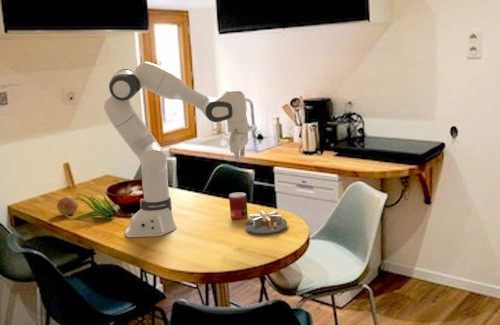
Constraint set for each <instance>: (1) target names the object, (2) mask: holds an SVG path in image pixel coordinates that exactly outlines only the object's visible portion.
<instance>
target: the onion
mask: <svg viewBox="0 0 500 325" xmlns="http://www.w3.org/2000/svg"><path fill="white" fill-rule="evenodd" d="M66 197H67V198H66ZM71 198H74V197H73V196H71V195H69V194H68V195H67V194H66V195H64V196H62V197H61V198H60V199H59V200H58V201H57V204H56V208H57V210H58V212H59V213H64V214H66V215H69V216H71V214H72V215H73V214H75V212H76V211H77V210H78V206H79V205H78V202H77V201H78V200H75V199H76V198H74V199H71ZM64 214H62V215H64ZM64 216H65V215H64Z"/></svg>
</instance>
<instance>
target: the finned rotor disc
mask: <svg viewBox="0 0 500 325" xmlns="http://www.w3.org/2000/svg"><path fill="white" fill-rule="evenodd" d="M278 213H279V211H277V210H275V211H272V212H269V213H265V211H263V210H260V214H249V220H250V223H253V227H258V226H260V225H267V226H268V227H269V228H271V223H276V224H282V215H281V214H278Z"/></svg>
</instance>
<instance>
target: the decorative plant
mask: <svg viewBox="0 0 500 325" xmlns="http://www.w3.org/2000/svg"><path fill="white" fill-rule="evenodd" d="M98 193H99V194H101V195H102V197H103V200H102V199H100V198H99V197H97V198H96V197H94V196H93V194H91V193H90V192H88V194H89V195H90V196H88V195H87V194H85V193H76V192H75V195H78V196H79V195H80V196H84V197H85V198H86V199H88V200H89V201H90V202H88V201H86V200H84V199H79V198H74V197H73V198H71V199H75V200H76V201H79V202H80V201H82V202H84V203H85V204H86V206H87V205H88V207H90V209H91V210H92V211H88V212H87V211H86V210H85V211H84V212H86V213H85V214H82V215H78V216H75V217H72V216H71V215H69V216H68V215H66V214H64V213H60V212H59V213H56V214H54V215H53V216H55V215H57V214H58V215H60V214H61V215H63V214H64V216H65V217H67V218H68V219H71V218H79V219H78V220H83V219H82V218H84V219H87V218H90V217H101V218H102V217H103V218H106V219H109V218H111V217H115V216H116V215H117V214H116V213H117V210H116V209H115V208H114V207H113V206H112V205H111V202H110V201H108V199H107V198H106V196H105V194H103V193H102V192H99V191H98ZM66 198H67V197H66Z"/></svg>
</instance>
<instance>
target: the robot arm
mask: <svg viewBox="0 0 500 325" xmlns="http://www.w3.org/2000/svg"><path fill="white" fill-rule="evenodd" d="M141 89H145V90H148V91H150V92H151V93H153V94H155V95H156V96H157V95H158V96H159V97H161V98H164V99H168V100H179V101H183V102H185V103H188V104H190V105H191V106H193V107H194V108H197V109H199V111H201V113H203V115H204V116H205V117H206V118H207V119H208V120H209V121H210V122H212V123H220V122H223V121H226V126H227V133H229V134H230V135H229V150H230V153H231V154H232V153H233V155H234V159H235V160H234V161H235V162H240V161H241V157H242V158H243V157H245V155H246V154H245V151H246V145H247V144H248V142H249V128H250V126H249V125H250V124H249V122H248V117H247V102H246V97H245V93H243V92H242V91H240V90H236V89H227V90H226V91H225V92H224V93H222V94H221V95H220V96H218V97H215V96H207V95H204V94H202V93H201V92H198V91H196V90H195V89H193V88H191V87H189V86H188V85H187V84H186V83H185V82H184V81H183V80H182V79H181V78H180V77H179V76H177V75H176V74H174V73H173V71H172V72H171V71H170V70H168V69H166V68H164V67H162V66H160V65H157V64H154V63H152V62H149V61H142V62H140V63H139V65H137V66H136V69H135V70H131V69H127V68H126V69H124V68H122V69H120V70H118V71H117V72H115V74H113V76H112V77H111V79H110V81H109V84H108V90H109V93H110V95H111V96H110V97H108V98H107V99H106V100H105V101H104V104H103V109H104V111H105V114H106V116H107V117H108V119H109V121H110V123H111V124H112V125H113V127H114V128H115V130H116V131H117V132H118V133H119V136H120V137H121V138H122V139H123V140H124V142H125V143H126V145H128V147H129V148H130V150H131V151H132V152H133V154H134V155H135V157H137V159H138V160H139V162H140V167H141V168H140V169H141V183H142V191H143V198H140V199H139V206H140V209H139V210H138V211H137V212H136V213H134V214H133V215H132V217H131V218H130V221H129V226H128V227H126V229H125V237H127V238H144V237H146V238H149V237H161V236H163V235H165V234H168V233H170V232H171V233H172V231H175V229H177V224H176V223H175V219H174V216H173V212H172V211H173V210H172V209H173V206H172V204H173V203H172V199H171V196H170V191H169V190H170V188H169V181H168V179H169V177H168V159H167V157H168V156H167V153H166V151H165V150H164V149H163V148H162V146H161V145H160V144H159V142H158V141H157V139H156V138H155V137H154V136H153V134H152V131H150V129H149V128H148V127H147V124H146V123H145V121H143V119H142V118H141V116H140V115H139V114H138V112H137V111H136V110H135V108H134V107H133V105H132V104H131V99H132V98H134V96H136V94H138V92H139V91H140V90H141Z"/></svg>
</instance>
